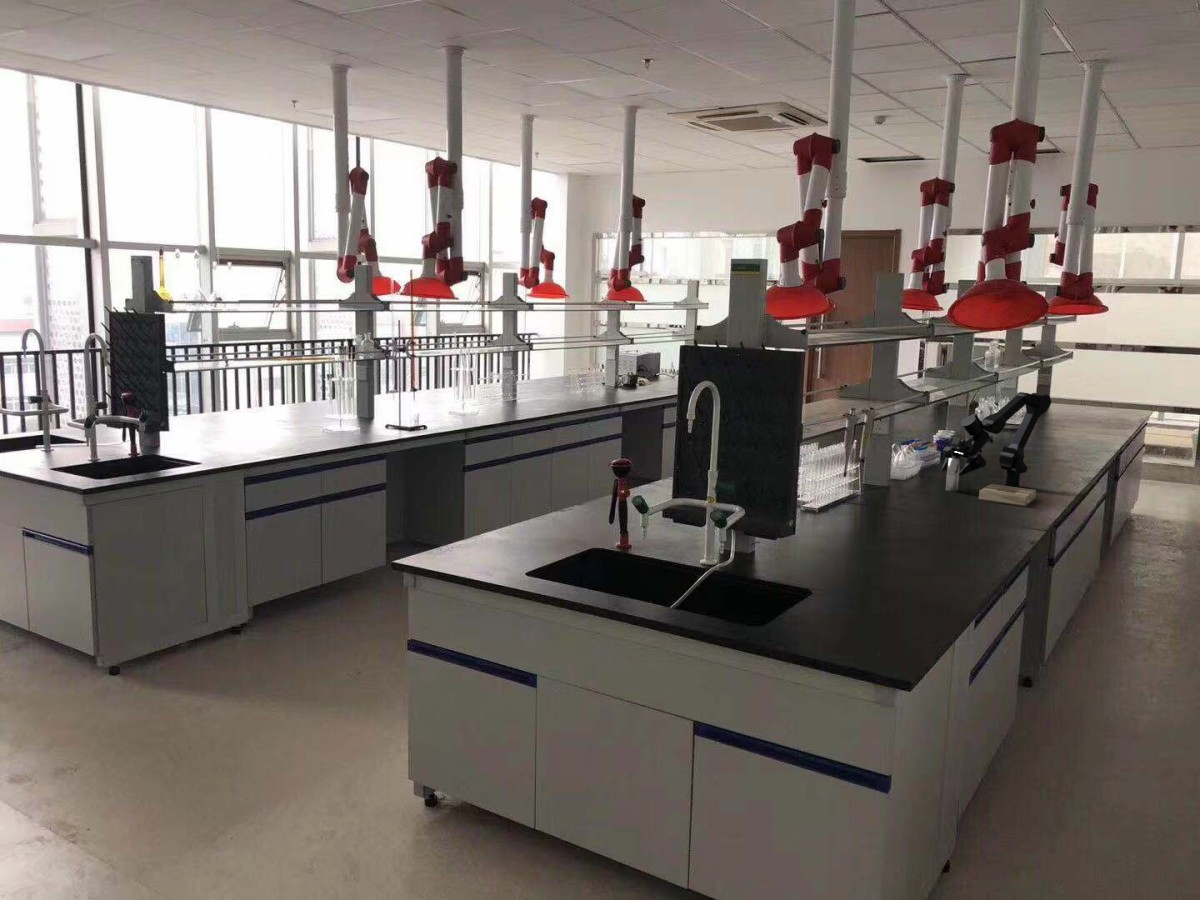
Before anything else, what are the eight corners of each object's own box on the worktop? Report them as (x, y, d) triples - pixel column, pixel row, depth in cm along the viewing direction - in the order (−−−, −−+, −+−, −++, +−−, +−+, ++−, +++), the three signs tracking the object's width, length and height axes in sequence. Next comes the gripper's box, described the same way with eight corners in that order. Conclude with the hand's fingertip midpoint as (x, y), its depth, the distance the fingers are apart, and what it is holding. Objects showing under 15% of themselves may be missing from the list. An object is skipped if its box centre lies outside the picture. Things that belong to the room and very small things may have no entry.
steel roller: (947, 488, 362) (950, 457, 360) (958, 490, 359) (961, 458, 357) (943, 490, 358) (946, 458, 356) (955, 491, 356) (958, 460, 354)
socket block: (990, 492, 355) (991, 483, 355) (1034, 499, 346) (1035, 490, 345) (978, 499, 343) (979, 490, 342) (1024, 506, 333) (1025, 497, 333)
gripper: (948, 426, 365) (923, 454, 363) (983, 433, 348) (957, 463, 346) (962, 445, 369) (937, 473, 367) (997, 453, 352) (972, 482, 350)
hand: (950, 472), depth 357 cm, fingers open, 9 cm apart
